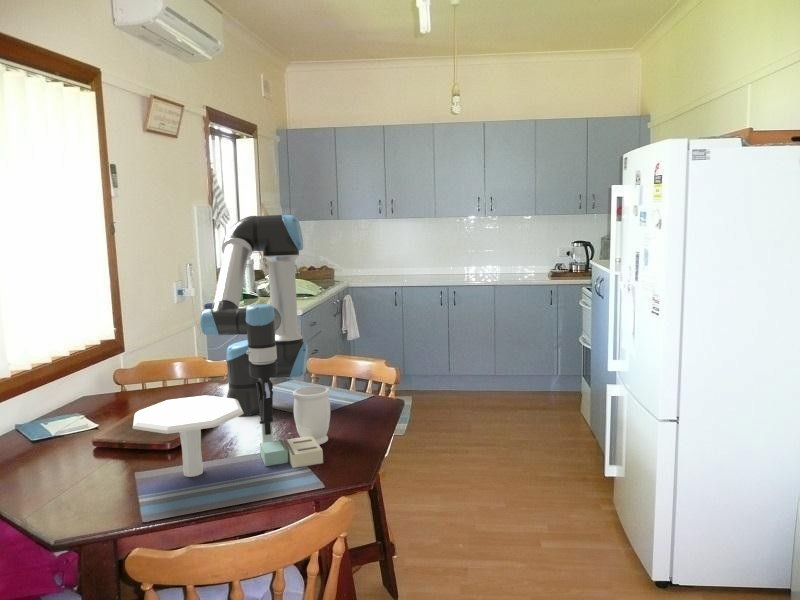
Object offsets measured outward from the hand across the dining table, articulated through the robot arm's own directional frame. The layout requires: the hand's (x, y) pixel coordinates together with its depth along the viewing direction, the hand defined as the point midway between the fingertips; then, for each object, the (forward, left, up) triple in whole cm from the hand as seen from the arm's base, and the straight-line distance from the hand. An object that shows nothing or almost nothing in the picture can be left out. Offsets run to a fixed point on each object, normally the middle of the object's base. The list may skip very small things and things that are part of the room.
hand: (267, 444), depth 177 cm
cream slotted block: (+10, +8, -2) cm, 13 cm away
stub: (+8, 0, -2) cm, 8 cm away
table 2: (+8, -20, -2) cm, 22 cm away
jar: (-1, +13, -2) cm, 13 cm away
